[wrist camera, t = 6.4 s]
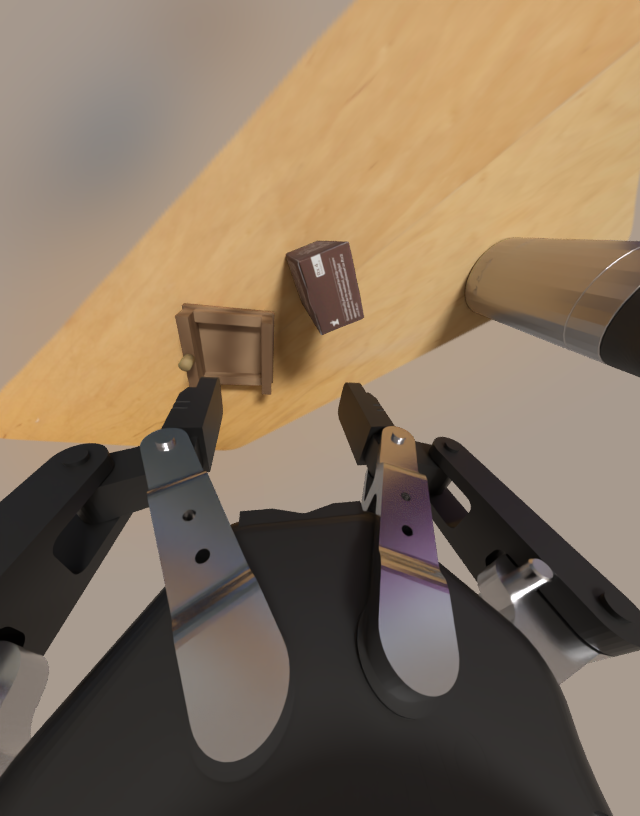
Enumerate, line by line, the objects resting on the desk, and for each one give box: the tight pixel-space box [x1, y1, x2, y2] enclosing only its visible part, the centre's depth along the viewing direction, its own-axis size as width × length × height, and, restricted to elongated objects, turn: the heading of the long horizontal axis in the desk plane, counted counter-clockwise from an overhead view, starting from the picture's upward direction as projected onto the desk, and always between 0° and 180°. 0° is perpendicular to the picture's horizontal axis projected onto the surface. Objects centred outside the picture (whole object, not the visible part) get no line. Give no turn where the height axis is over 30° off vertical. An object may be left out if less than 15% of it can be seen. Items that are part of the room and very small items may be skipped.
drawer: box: [175, 303, 274, 394], centre depth 29 cm, size 10×10×6 cm
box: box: [286, 241, 364, 335], centre depth 24 cm, size 6×4×12 cm
